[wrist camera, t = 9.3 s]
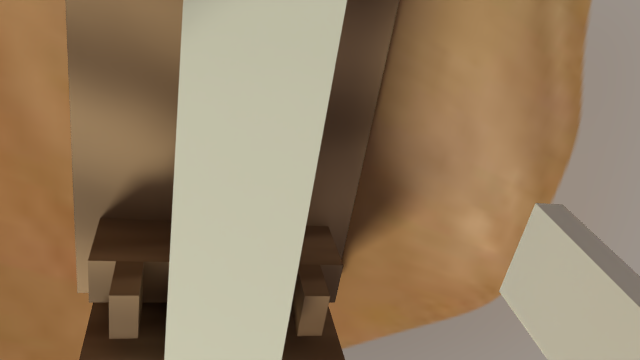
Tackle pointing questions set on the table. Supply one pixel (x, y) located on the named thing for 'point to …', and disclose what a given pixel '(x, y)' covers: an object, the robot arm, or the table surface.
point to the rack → (159, 160)
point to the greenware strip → (245, 170)
